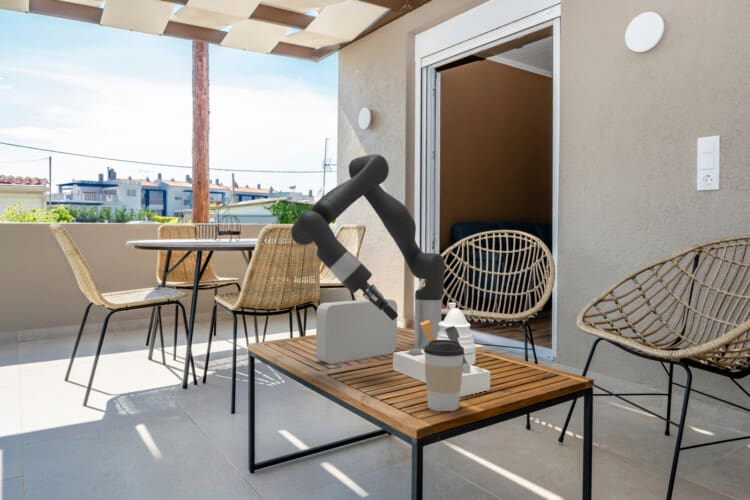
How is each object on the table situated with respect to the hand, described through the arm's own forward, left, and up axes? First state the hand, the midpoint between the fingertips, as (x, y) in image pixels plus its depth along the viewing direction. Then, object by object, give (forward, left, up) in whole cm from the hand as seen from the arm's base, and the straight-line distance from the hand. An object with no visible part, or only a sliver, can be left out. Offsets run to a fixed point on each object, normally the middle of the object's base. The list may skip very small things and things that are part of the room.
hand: (395, 317), depth 135 cm
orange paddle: (-10, +6, -10) cm, 16 cm away
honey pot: (-28, -8, -17) cm, 34 cm away
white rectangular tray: (-10, +6, -17) cm, 20 cm away
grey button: (-10, -5, -13) cm, 17 cm away
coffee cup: (+3, +24, -17) cm, 29 cm away
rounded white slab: (-4, -27, -17) cm, 32 cm away
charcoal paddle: (-10, +17, -11) cm, 23 cm away
